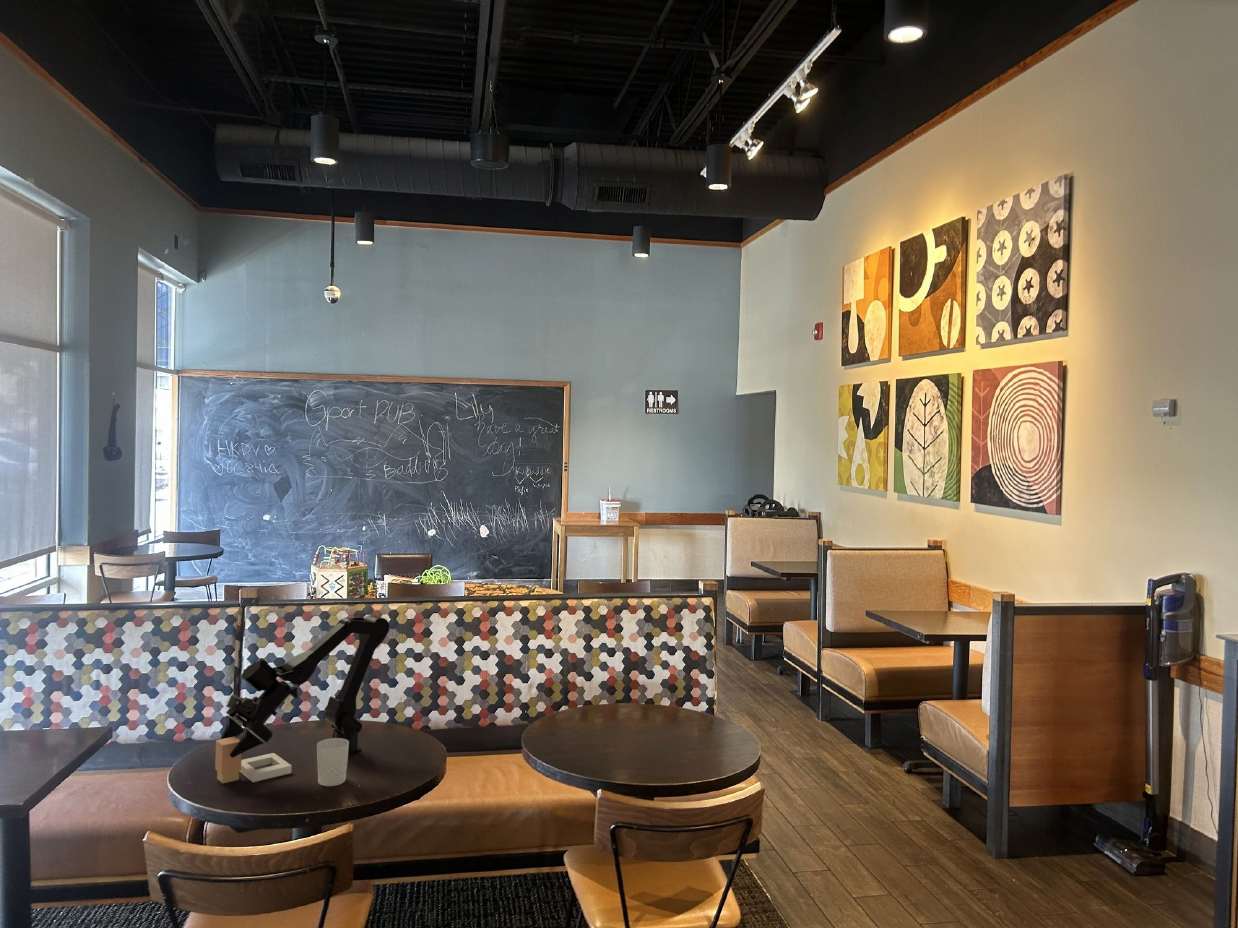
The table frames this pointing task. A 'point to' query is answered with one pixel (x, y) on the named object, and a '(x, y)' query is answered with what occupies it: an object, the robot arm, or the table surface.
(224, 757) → the plug
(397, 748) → the table surface
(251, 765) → the socket
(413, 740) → the table surface
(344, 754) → the white cup
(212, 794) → the table surface
